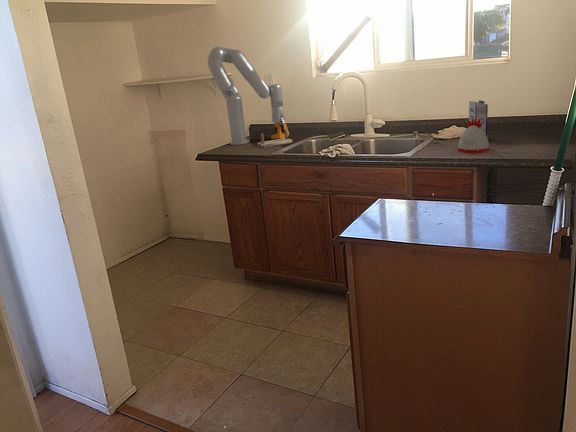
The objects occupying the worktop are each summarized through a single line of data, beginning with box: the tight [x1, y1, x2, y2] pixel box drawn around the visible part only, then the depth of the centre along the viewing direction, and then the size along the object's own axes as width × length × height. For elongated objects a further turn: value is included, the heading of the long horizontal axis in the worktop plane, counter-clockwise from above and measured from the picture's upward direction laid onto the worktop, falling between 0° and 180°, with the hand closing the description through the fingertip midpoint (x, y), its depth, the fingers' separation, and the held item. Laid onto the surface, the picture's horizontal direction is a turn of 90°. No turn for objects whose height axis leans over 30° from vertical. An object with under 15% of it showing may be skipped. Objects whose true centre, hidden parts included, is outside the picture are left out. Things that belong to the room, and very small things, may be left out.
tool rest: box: [257, 129, 293, 148], centre depth 299 cm, size 10×19×8 cm, turn 115°
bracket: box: [270, 120, 290, 140], centre depth 314 cm, size 11×7×12 cm, turn 146°
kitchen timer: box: [457, 118, 490, 154], centre depth 231 cm, size 14×14×15 cm
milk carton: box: [468, 99, 489, 137], centre depth 252 cm, size 7×7×20 cm
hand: (280, 132), depth 315 cm, fingers closed on bracket, 5 cm apart
